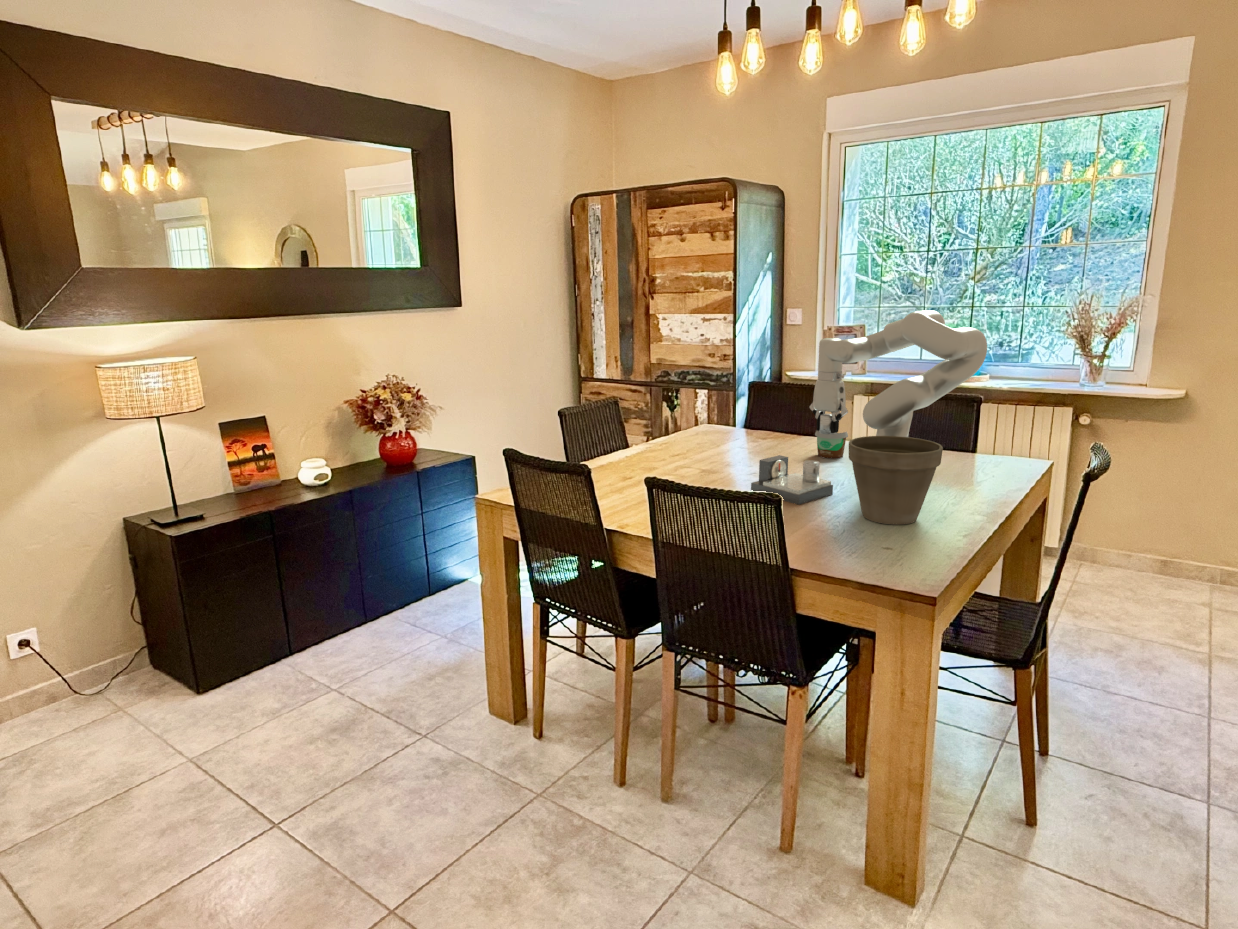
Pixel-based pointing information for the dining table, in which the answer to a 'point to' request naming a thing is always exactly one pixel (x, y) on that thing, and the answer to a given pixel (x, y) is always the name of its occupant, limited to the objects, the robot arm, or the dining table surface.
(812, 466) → the cylinder
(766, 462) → the dial scale
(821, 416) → the steel spacer
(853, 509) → the dining table surface
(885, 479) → the plant pot
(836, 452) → the food container
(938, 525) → the dining table surface
